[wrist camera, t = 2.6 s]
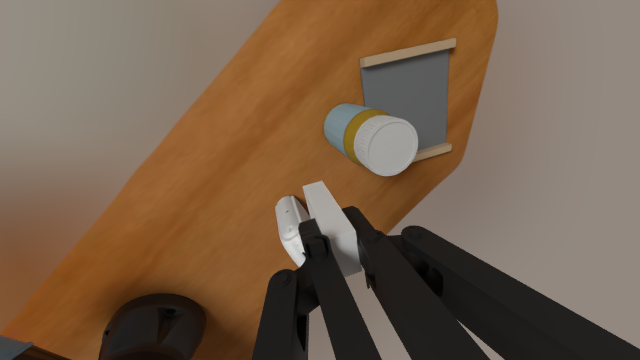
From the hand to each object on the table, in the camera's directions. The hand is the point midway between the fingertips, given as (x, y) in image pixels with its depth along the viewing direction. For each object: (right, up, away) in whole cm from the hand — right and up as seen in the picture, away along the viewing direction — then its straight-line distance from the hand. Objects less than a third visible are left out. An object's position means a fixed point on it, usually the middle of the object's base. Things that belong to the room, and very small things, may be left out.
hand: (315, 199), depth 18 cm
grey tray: (+15, +13, +22) cm, 30 cm away
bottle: (+4, +10, +20) cm, 23 cm away
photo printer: (-4, -5, +24) cm, 25 cm away
